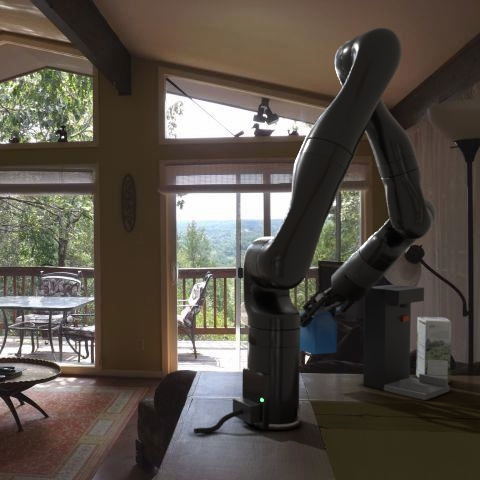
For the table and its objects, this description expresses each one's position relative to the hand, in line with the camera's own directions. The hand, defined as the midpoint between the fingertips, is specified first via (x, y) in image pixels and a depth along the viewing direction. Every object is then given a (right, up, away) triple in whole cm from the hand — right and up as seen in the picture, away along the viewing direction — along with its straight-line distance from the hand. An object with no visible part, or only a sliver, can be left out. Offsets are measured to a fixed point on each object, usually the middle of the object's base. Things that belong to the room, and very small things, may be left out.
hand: (311, 322), depth 129 cm
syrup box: (+30, -14, +5) cm, 33 cm away
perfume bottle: (+1, -6, -1) cm, 6 cm away
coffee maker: (+20, -14, -3) cm, 25 cm away
